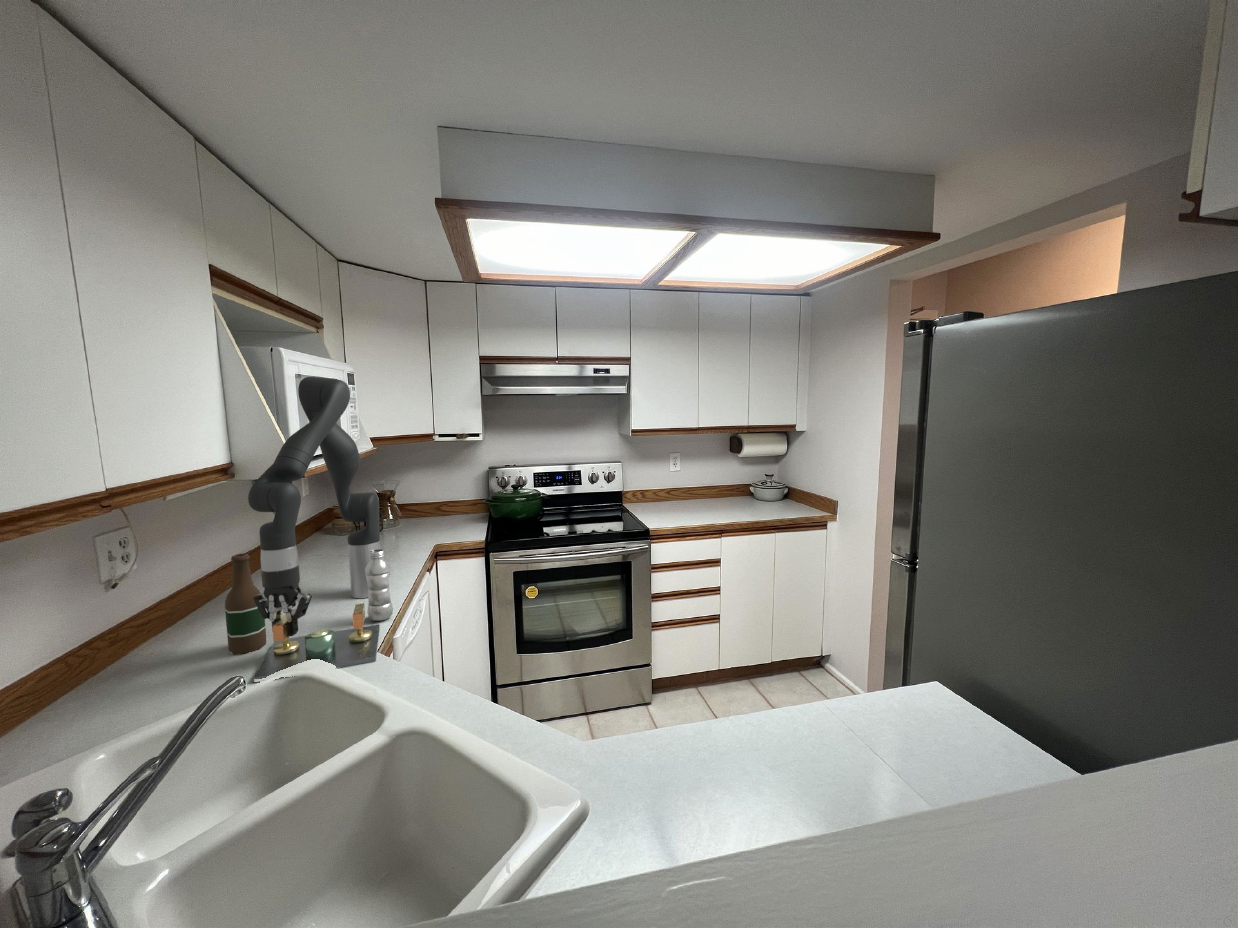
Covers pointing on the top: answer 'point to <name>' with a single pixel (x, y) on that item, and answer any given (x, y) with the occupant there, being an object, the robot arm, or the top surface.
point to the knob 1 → (283, 638)
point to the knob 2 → (359, 625)
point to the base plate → (338, 659)
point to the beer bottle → (243, 610)
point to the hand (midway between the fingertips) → (285, 634)
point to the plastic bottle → (378, 586)
